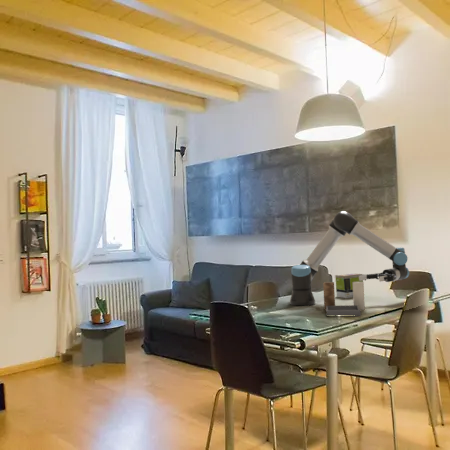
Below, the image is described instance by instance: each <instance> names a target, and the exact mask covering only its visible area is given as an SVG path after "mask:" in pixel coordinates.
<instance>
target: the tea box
mask: <svg viewBox="0 0 450 450" xmlns="http://www.w3.org/2000/svg"><path fill="white" fill-rule="evenodd" d="M362 275H363V273H343V274H335V275H334V276H335V277H334V278H335V293H336V297H337V298H342V299H349V298H353V283H352V282H364V280H361V281H359V276H362Z"/></svg>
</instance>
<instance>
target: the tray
mask: <svg viewBox="0 0 450 450" xmlns="http://www.w3.org/2000/svg"><path fill="white" fill-rule="evenodd" d="M325 311H326V312H327V313H326V312H325V313H326V316H327V315H355V316H354V317H361V316H362V314H361V310H360V309H359V307H358V305H354V304H353V305H335V306H326V310H325Z"/></svg>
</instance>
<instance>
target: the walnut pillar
mask: <svg viewBox="0 0 450 450" xmlns="http://www.w3.org/2000/svg"><path fill="white" fill-rule="evenodd" d="M322 287H323V288H322V289H323V304H324V305H323V307H324V308H325V309H326V306H336V296H335V295H336V294H335V293H336V291H335V281H324V282H323V283H322ZM325 309H324V310H325Z"/></svg>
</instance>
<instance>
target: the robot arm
mask: <svg viewBox="0 0 450 450" xmlns="http://www.w3.org/2000/svg"><path fill="white" fill-rule="evenodd" d="M347 234H348V235H351V236H354V237H355V238H357V239H358V240H359V241H361V242H363V243H365V244H366V245H367V246H369V247H370V248H372V249H373V250H375V251H377V252H379V253H380V254H381V255H383V256H384V257H386V258H387V259H388V260H390V261H392V267H391V268H385V269H384V270H383V271H382V272H379V273H378V272H377V273H376V272H375V273H369V274H366V273H365V274H362V276H359V281H361V280H363V281H367V280H374V279H375V280H379V282H380V283H381V282H384V281H385V282H386V283H390V282H391V283H392V282H393V283H395V281H402V280H405V279H407V278H408V277H409V276H410V270H409V268H408V267H407V265H406V264H407V262H408V255H407V254H406V252H405V248H404V247H395V246H394V245H392V244H391V243H389V242H387V241H386V240H384V239H383V238H382V237H380V236H379V235H377V234H376V233H375V232H372V231H371V229H370V230H369V229H368V228H366V226H364V225H362V224H360V221H359V220H358V219H357V218H355V217H354V216H353V215H352V214H351V213H349V212H348V211H345V210H342V211H339V212H337V213H336V214H335V215H334V216H333V218H332V220H331V221H330V223H329V224H328V230H327V231H326V233H325V234H324V235H323V237H322V238H321V239H320V241H319V242H318V243H317V245H316V246H315V248H314V249H313V250H312V252H311V253H310V254H309V256H308V257H307V259H303V260H301V263H300V264H297V265H293V266H291V270H290V272H291V273H290V274H291V290H292V292H291V294H290V295H291V296H290V299H289V305H290V304H291V306H296V305H306V306H312V305H315V304H316V299H315V297H314V294H313V292H312V281H313V279H314V277H315V276H316V274H317V273H318V272H319V267H320V266H321V264H322V263H323V261H324V260H325V258H326V257H327V256H328V254H329V253H330V252H331V251H332V249H333V248H334V246H335V245H336V244H337V242H338V241H339V240H340V239H341V238H343V237H345V236H346V235H347Z"/></svg>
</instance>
